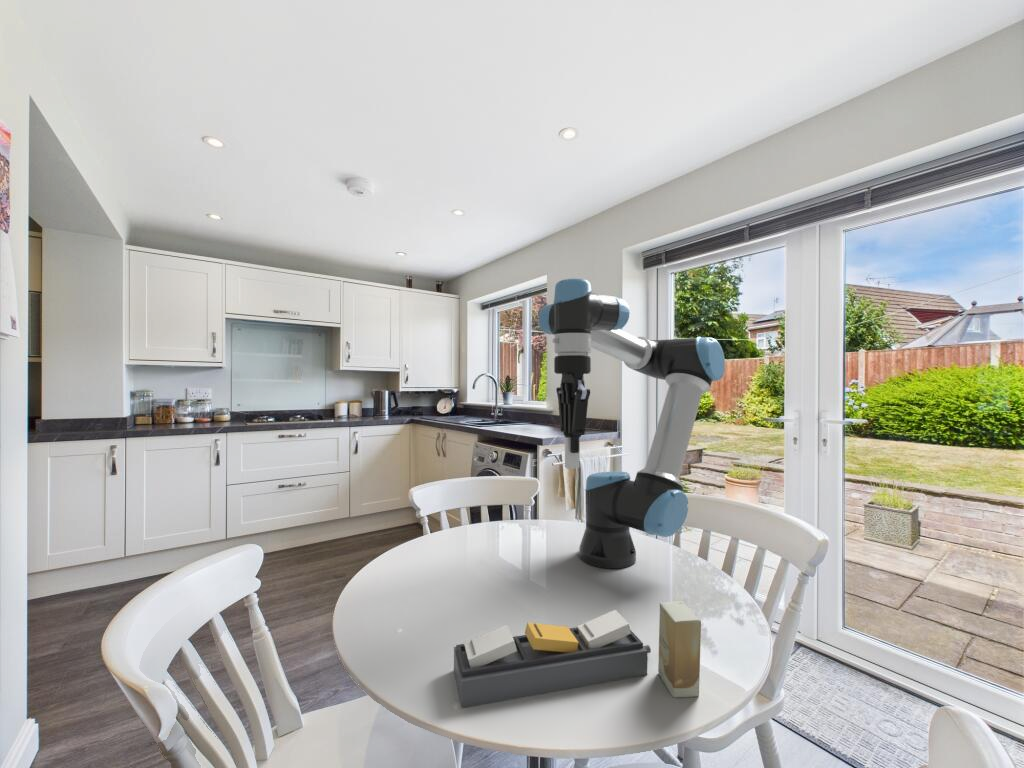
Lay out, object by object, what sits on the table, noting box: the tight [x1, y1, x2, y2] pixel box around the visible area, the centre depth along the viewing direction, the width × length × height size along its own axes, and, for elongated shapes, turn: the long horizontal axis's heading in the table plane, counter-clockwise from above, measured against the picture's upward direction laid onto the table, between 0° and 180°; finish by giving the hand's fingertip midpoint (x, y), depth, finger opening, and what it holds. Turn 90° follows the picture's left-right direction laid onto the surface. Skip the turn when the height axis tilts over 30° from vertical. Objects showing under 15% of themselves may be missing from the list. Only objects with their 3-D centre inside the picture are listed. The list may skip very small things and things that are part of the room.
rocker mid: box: [524, 622, 579, 653], centre depth 77 cm, size 8×5×2 cm, turn 105°
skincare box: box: [657, 600, 702, 698], centre depth 74 cm, size 6×4×12 cm
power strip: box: [453, 627, 652, 708], centre depth 77 cm, size 34×9×5 cm, turn 104°
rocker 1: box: [463, 624, 517, 668], centre depth 74 cm, size 8×5×2 cm, turn 104°
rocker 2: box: [576, 609, 632, 649], centre depth 79 cm, size 8×5×2 cm, turn 104°
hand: (572, 467), depth 96 cm, fingers closed
